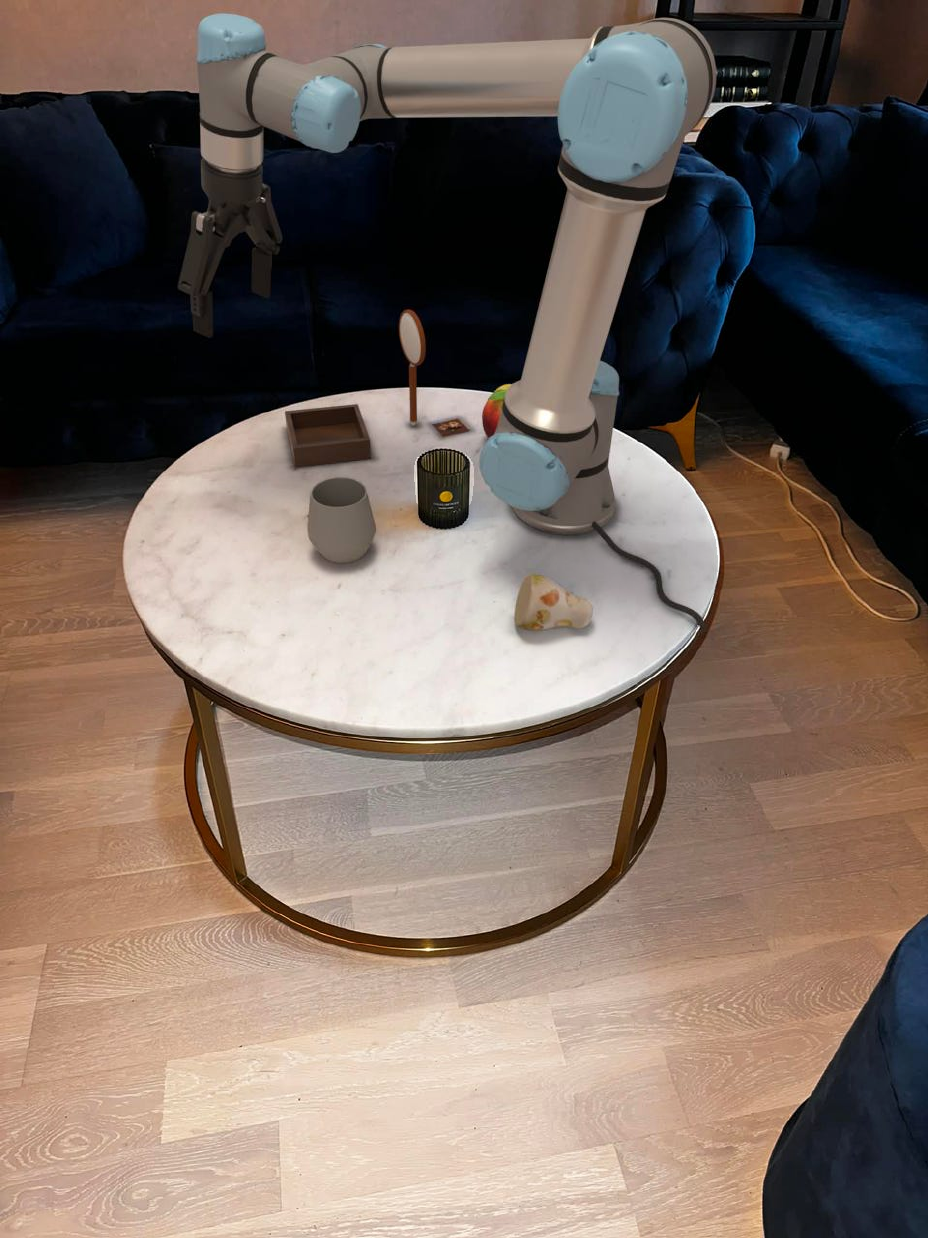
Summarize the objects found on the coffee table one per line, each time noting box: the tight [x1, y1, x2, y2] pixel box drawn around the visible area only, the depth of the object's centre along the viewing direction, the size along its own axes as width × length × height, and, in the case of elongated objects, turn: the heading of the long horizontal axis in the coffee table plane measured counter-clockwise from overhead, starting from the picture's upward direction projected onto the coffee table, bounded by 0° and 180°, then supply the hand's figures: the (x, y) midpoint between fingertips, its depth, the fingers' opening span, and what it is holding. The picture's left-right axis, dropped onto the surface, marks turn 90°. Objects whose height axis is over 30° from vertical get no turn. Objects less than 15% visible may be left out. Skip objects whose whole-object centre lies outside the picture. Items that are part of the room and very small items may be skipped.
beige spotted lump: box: [514, 574, 594, 631], centre depth 120 cm, size 8×10×10 cm
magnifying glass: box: [398, 309, 427, 427], centre depth 153 cm, size 9×2×20 cm, turn 27°
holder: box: [284, 403, 372, 468], centre depth 154 cm, size 12×12×4 cm
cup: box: [306, 476, 377, 564], centre depth 129 cm, size 10×9×10 cm
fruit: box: [481, 383, 513, 439], centre depth 153 cm, size 11×11×10 cm
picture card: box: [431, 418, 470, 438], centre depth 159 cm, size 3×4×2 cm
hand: (233, 313), depth 132 cm, fingers open, 13 cm apart
